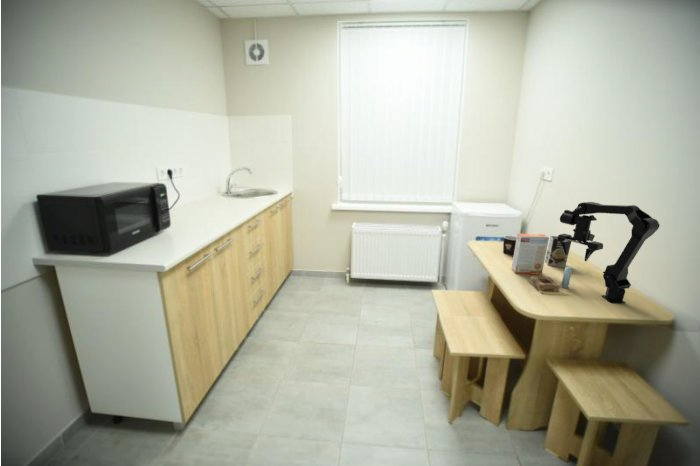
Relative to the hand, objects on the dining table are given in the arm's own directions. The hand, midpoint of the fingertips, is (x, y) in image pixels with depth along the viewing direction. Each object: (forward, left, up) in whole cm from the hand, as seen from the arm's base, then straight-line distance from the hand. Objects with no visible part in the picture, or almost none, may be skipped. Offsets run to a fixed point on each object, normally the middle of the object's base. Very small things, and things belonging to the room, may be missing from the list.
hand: (575, 258), depth 166 cm
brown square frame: (-9, +18, -13) cm, 23 cm away
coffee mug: (+38, +15, -13) cm, 43 cm away
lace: (-14, +16, -13) cm, 24 cm away
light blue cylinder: (-7, +7, -13) cm, 16 cm away
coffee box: (+23, -4, -13) cm, 27 cm away
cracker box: (+10, +18, -13) cm, 24 cm away
